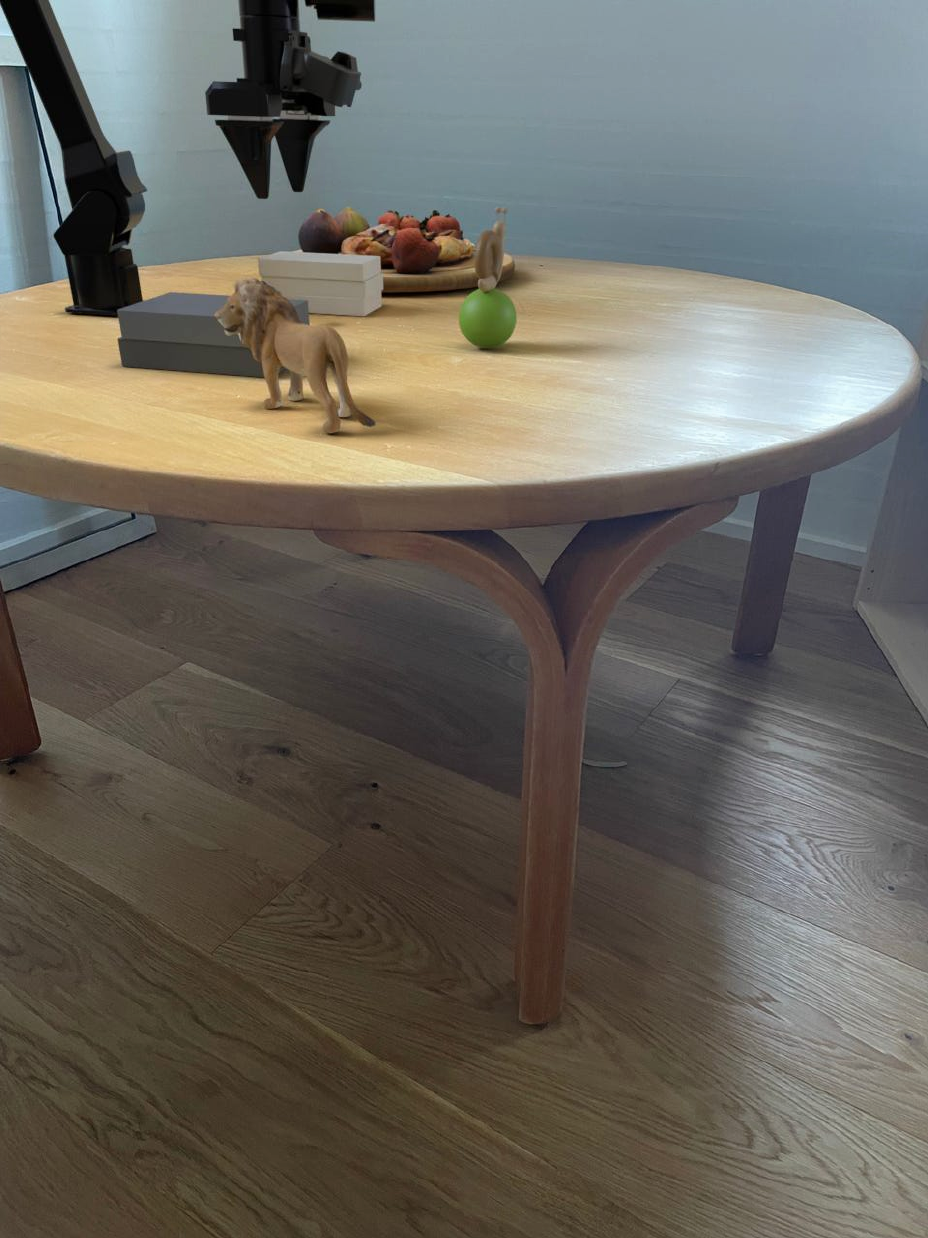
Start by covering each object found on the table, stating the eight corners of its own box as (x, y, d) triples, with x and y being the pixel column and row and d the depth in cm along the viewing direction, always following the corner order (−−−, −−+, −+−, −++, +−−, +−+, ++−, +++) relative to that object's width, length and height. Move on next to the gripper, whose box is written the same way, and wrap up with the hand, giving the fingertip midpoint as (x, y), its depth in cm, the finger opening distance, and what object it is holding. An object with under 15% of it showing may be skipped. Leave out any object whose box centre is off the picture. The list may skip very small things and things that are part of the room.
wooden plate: (519, 299, 110) (522, 224, 106) (251, 295, 110) (244, 220, 106) (510, 259, 138) (512, 198, 133) (297, 256, 138) (293, 195, 134)
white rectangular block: (259, 275, 101) (257, 258, 100) (281, 267, 106) (280, 251, 105) (363, 281, 98) (362, 263, 97) (381, 272, 103) (380, 255, 102)
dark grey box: (121, 366, 80) (111, 309, 78) (174, 343, 88) (166, 291, 85) (271, 378, 77) (266, 319, 75) (313, 353, 85) (309, 299, 82)
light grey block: (262, 310, 102) (258, 275, 101) (284, 300, 108) (281, 267, 106) (366, 316, 100) (364, 281, 98) (383, 306, 105) (382, 272, 103)
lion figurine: (216, 401, 71) (201, 278, 67) (270, 387, 75) (259, 270, 70) (348, 442, 63) (341, 305, 58) (402, 424, 66) (399, 294, 62)
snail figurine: (525, 341, 90) (530, 207, 84) (506, 356, 85) (510, 214, 79) (472, 337, 92) (474, 205, 86) (450, 351, 86) (451, 211, 80)
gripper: (312, 9, 80) (321, 206, 87) (379, 26, 96) (381, 192, 103) (194, 8, 82) (212, 201, 89) (278, 25, 98) (288, 187, 105)
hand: (281, 195), depth 97 cm, fingers open, 9 cm apart
